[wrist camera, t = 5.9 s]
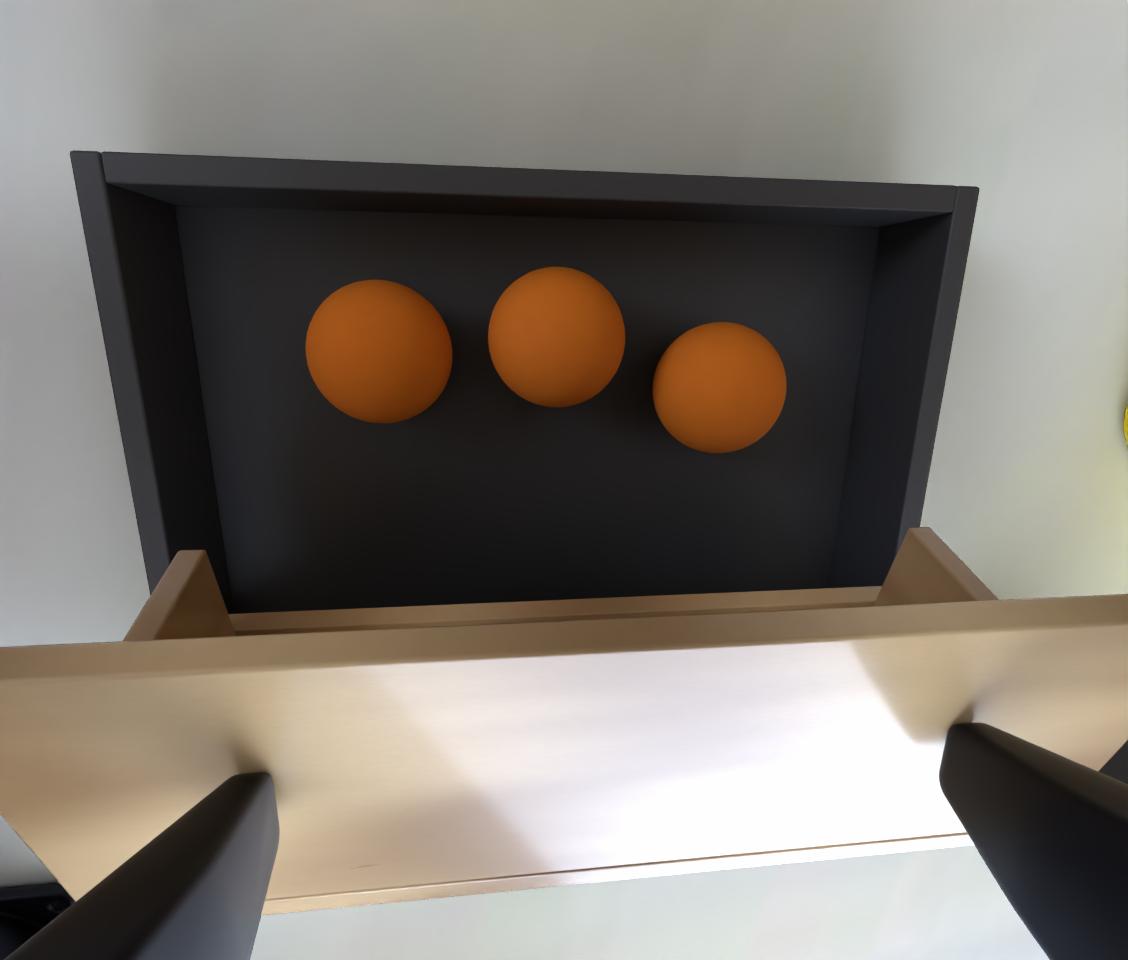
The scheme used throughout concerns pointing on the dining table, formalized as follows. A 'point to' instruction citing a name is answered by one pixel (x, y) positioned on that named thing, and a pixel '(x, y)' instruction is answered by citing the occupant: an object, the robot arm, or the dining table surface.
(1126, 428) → the yellow flat box
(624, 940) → the dining table surface
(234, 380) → the dark grey tray
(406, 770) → the wooden box
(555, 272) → the orange ball
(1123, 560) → the dining table surface
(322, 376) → the orange ball
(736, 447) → the orange ball
